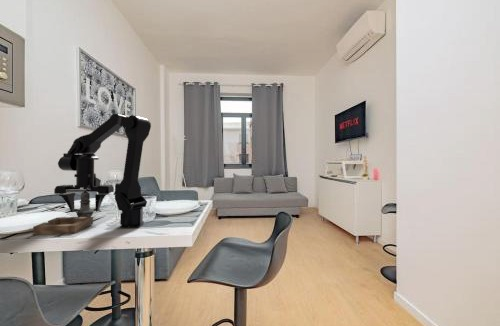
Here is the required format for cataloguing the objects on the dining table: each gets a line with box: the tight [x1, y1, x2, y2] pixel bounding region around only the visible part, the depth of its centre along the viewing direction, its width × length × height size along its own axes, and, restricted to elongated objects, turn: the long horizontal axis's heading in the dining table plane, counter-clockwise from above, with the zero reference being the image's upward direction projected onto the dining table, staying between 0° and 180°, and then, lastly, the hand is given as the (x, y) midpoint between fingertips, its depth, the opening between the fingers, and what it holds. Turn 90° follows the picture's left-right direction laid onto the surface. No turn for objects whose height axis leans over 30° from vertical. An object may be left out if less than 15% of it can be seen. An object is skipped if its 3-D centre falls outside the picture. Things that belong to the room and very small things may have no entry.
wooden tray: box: [32, 216, 94, 236], centre depth 84 cm, size 12×12×2 cm
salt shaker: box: [75, 192, 95, 217], centre depth 95 cm, size 6×6×12 cm
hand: (85, 211), depth 95 cm, fingers closed on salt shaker, 8 cm apart
